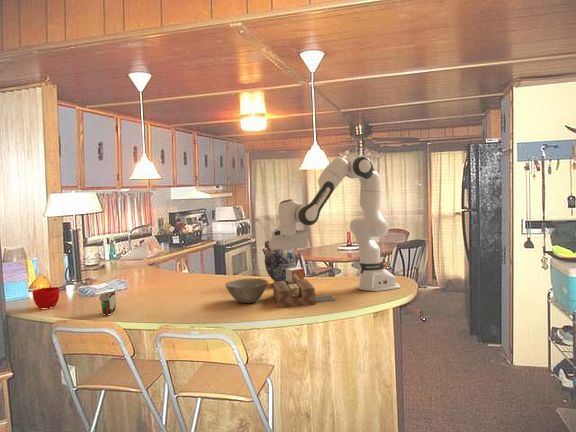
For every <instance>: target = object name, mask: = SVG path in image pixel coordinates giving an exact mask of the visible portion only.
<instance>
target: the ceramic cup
mask: <svg viewBox="0 0 576 432" xmlns="http://www.w3.org/2000/svg"><path fill="white" fill-rule="evenodd" d="M59 297H60V288H59V287H57V286H51V287H42V288H37V289H33V291H32V298H33V302H34V304H35V305H36V306H37V307H38V308H39V309H40V308H50V307H53V306H54V307H56V305H57V304H58V302H59V299H60V298H59Z"/></svg>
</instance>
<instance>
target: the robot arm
mask: <svg viewBox="0 0 576 432" xmlns="http://www.w3.org/2000/svg"><path fill="white" fill-rule="evenodd" d="M345 177H347V178H350V179H358V180H359V184H360V190H359V191H360V192H359V206H360V208H361V209H362V211H363V215H364V216H357V217H355V218H353V219H351V221H350V224H349V230H350V231H351V233H352V234H353V235H354V237H355V240H356V242H357V245H358V250H359V252H358V253H359V263H358V265H359V266H358V268H359V274H360V275H359V283H358V286H357V288H358V289H359V290H362V291H369V292H370V291H371V292H382V291H389V290H396V289H400V288H401V285H400V284H399V283H398V282H397V280H396V277H395V275H394V274H393V273H391V272H390V271H389V270H387V269H386V267H387V266H388V264H387V263H386V262H383V261H381V248H380V246H379V245H378V244H377V242H376V240H375V239H377V238H382V237H385V236H386V235H387V234H388V232H389V223H388V221H387V220H386V219H385V218H384V215H383V212H382V207H381V195H382V194H381V193H382V182H381V176H380V174H379V173H378V171H375V168H374V166H373V162H372V160H371V159H370V158H369V157H367V156H362V155H361V156H357V157H353V158H351V159H348V160H347V159H346V158H343V157H341V156H338V157H335V158H334V159H332V161H330V163H328V164H327V166H326V167H325V168H324V169H323V170H322V172H321V174H320V175H319V176H318V180H317V183H318V188H319V189H318V190H317V193H316V194H315V196H314V197H313V199H311V201H310V202H309V203H308V204H306V205H305V204H301V203H299V202H297V201H295V200H294V199H292V198H291V199H286V200H285V199H284V200H282V201H280V202H279V204H278V210H277V211H278V212H277V214H278V221H279V224H278V228H276V229H273V230H271V231H270V235H271V236H269V247H268V248H270V249H271V250H280V249H281V251H282V253H283V254H284V258H287V254H285V253H284V252H283V251H284V249H292V250H293V253H292V257H295V256H296V252H297V249H306V248H309V241H308V236H309V234H308V233H309V232H308V231H307V230H305V229H301V230H300V229H297V223H299V224H303V225H305V226H307V227H310V226H313V225H314V224H316V223H317V222H318V220H319V217H320V213H321V211H322V209H323V207H324V206H325V204H326V203H327V202H328V200H329V198H330V197H331V195H332V194H333V193H334V191H335V190H337V188H338V186H339V185H340V184H341V182H342V181H343V180H344V178H345Z"/></svg>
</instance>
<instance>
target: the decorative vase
mask: <svg viewBox="0 0 576 432" xmlns="http://www.w3.org/2000/svg"><path fill="white" fill-rule="evenodd" d="M269 241H270V239H268V240H266V241H265V242H264V248H265V249H267V251H266V253H265V254H264V267H265V270H266V272H267V275H268V277H270V278H271V280H273V282H278V281H286V269H290V268H296V267H297V257H296V255H295V257H292V253H293V252H294V249H284V251H283V252H284V253H285V254H287V258H284V254H283V253H282V251H281V249H280V250H271V249H270V248H269Z"/></svg>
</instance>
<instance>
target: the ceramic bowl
mask: <svg viewBox="0 0 576 432" xmlns="http://www.w3.org/2000/svg"><path fill="white" fill-rule="evenodd" d="M268 283H269V281H268V280H267V279H262V278H255V277H254V278H242V279H234V280H231V281H228V282H225V284H224V285H225V288H226V290H227V291H228V292H229V294H230V295H231V297H232V298H233V299H234V300H235V301H237V302H238V303H242V304H254V303H257V302H258V301H259V300H260V299H261V297H262V296H263V294H264V292H265V290H266V287H267V285H268Z"/></svg>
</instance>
